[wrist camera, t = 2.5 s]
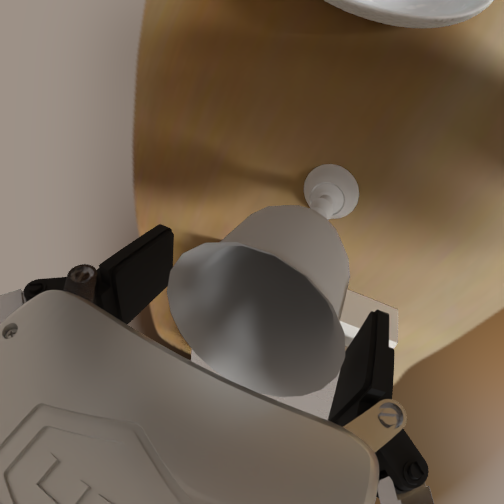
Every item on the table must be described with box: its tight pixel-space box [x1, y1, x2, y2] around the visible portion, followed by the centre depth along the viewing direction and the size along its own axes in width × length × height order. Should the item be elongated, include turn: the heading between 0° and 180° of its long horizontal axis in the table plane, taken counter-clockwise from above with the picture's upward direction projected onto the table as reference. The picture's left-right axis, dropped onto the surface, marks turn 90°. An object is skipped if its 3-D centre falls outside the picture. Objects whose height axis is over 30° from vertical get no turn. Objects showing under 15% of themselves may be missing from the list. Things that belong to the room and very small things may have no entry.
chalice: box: [167, 164, 359, 397], centre depth 17 cm, size 7×7×18 cm
